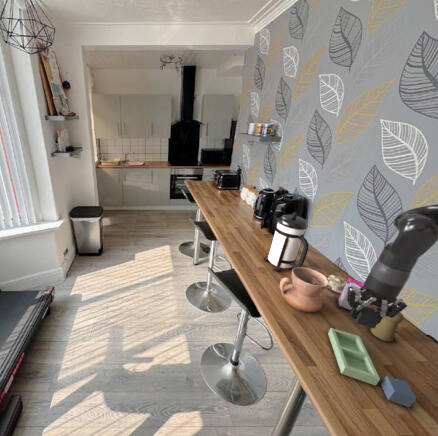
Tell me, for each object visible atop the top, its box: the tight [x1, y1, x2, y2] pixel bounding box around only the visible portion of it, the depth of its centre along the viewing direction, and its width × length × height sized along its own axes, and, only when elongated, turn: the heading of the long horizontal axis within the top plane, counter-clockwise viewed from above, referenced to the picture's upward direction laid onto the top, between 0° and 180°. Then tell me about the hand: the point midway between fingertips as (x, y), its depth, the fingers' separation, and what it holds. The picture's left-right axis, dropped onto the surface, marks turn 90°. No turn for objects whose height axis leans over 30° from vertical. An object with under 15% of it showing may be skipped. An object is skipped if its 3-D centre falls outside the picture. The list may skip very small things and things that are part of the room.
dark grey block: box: [354, 306, 380, 329], centre depth 74 cm, size 5×5×4 cm
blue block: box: [380, 375, 417, 408], centre depth 66 cm, size 5×5×4 cm
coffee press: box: [263, 211, 309, 272], centre depth 117 cm, size 17×16×30 cm
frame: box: [327, 327, 381, 386], centre depth 76 cm, size 8×16×3 cm, turn 157°
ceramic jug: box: [279, 266, 332, 314], centre depth 96 cm, size 18×14×14 cm
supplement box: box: [337, 277, 365, 312], centre depth 96 cm, size 6×6×12 cm
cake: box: [326, 274, 348, 294], centre depth 108 cm, size 10×10×5 cm
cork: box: [370, 312, 405, 342], centre depth 83 cm, size 6×6×11 cm
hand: (363, 319), depth 75 cm, fingers closed on dark grey block, 4 cm apart
